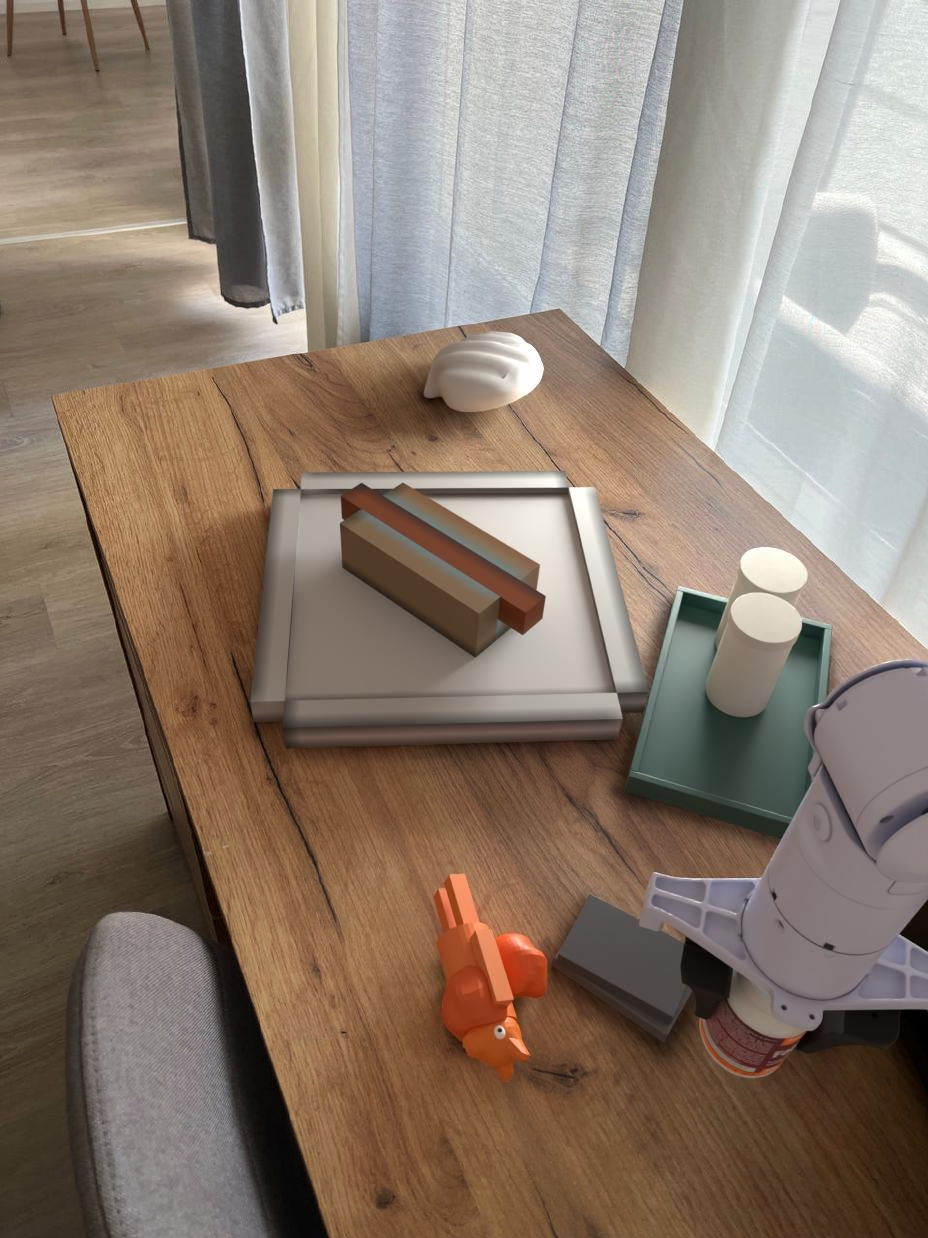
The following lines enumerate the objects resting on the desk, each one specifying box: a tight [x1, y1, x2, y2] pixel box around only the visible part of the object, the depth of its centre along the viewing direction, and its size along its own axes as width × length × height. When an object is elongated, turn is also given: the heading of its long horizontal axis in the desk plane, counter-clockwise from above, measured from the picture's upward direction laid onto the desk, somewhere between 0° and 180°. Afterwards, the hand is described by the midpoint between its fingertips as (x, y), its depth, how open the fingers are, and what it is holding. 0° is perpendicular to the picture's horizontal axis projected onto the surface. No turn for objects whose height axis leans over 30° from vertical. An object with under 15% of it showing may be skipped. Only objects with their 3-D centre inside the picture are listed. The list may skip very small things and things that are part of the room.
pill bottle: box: [699, 969, 807, 1079], centre depth 49 cm, size 5×5×8 cm
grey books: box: [551, 893, 693, 1043], centre depth 60 cm, size 16×11×2 cm
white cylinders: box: [705, 547, 809, 717], centre depth 75 cm, size 11×5×9 cm, turn 161°
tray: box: [623, 585, 833, 840], centre depth 75 cm, size 21×13×2 cm, turn 161°
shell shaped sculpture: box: [423, 330, 544, 413], centre depth 103 cm, size 13×13×6 cm
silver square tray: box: [249, 470, 650, 749], centre depth 80 cm, size 30×30×8 cm
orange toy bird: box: [432, 873, 548, 1082], centre depth 58 cm, size 5×8×12 cm
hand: (752, 1016), depth 51 cm, fingers closed on pill bottle, 5 cm apart
